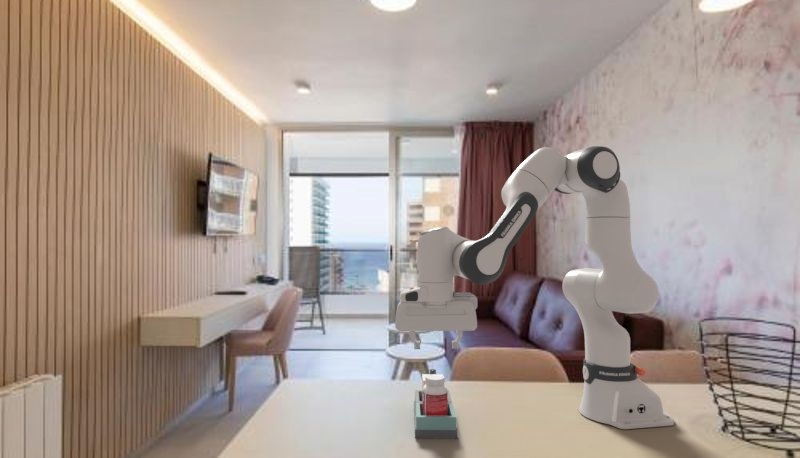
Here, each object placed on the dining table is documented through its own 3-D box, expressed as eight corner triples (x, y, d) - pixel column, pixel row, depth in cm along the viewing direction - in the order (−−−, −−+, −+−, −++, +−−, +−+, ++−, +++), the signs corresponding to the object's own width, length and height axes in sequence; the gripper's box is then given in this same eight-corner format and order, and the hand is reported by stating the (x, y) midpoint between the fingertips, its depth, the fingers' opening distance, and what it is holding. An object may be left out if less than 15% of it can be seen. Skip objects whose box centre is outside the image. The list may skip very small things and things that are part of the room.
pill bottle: (452, 423, 108) (452, 378, 109) (432, 429, 105) (432, 382, 105) (437, 414, 114) (437, 371, 114) (417, 420, 110) (417, 375, 110)
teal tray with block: (449, 408, 123) (449, 365, 123) (457, 438, 105) (457, 387, 105) (413, 408, 123) (413, 364, 123) (415, 438, 105) (415, 387, 105)
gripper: (475, 290, 113) (476, 344, 113) (395, 291, 113) (395, 345, 113) (479, 293, 107) (480, 351, 107) (394, 295, 107) (395, 352, 107)
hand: (436, 348), depth 110 cm, fingers open, 8 cm apart
